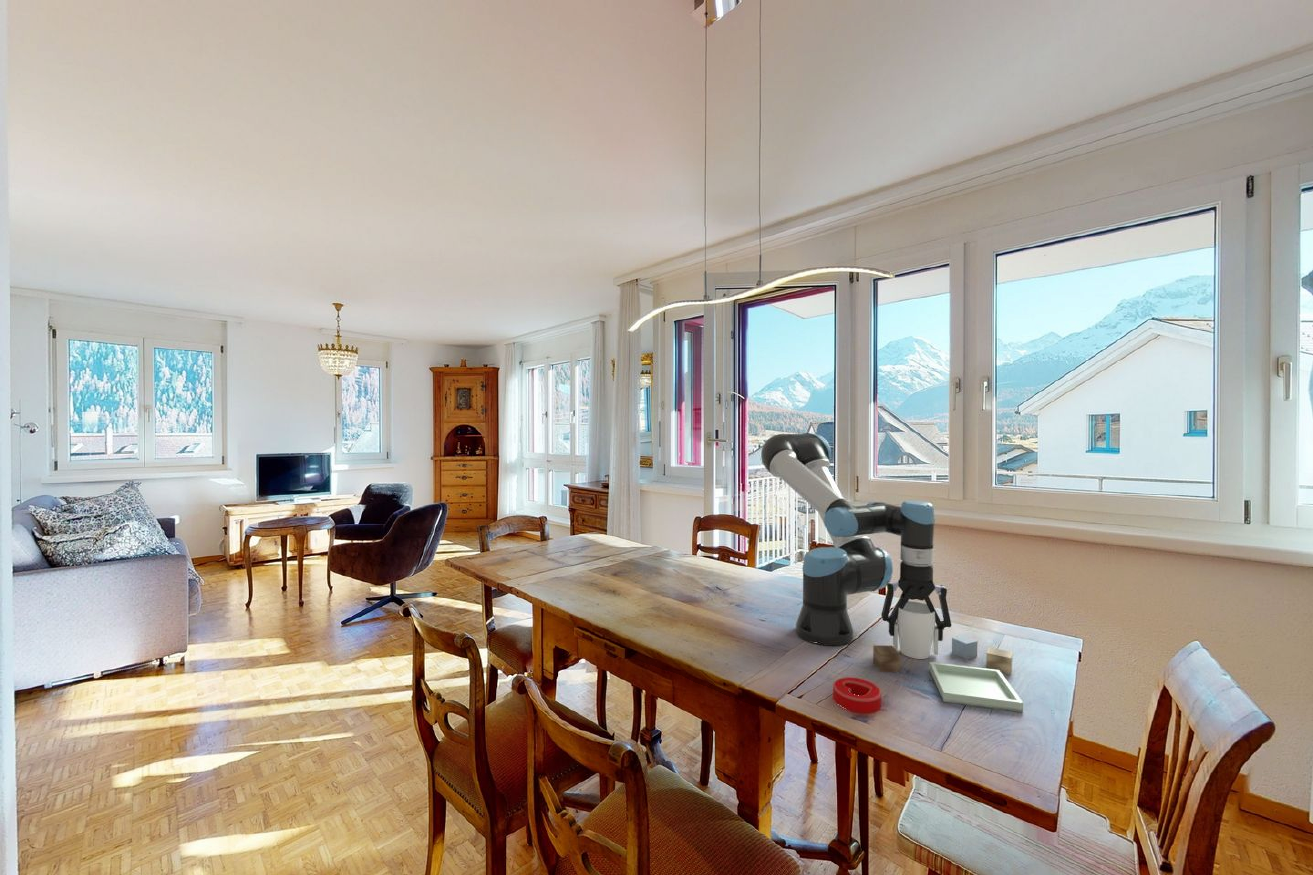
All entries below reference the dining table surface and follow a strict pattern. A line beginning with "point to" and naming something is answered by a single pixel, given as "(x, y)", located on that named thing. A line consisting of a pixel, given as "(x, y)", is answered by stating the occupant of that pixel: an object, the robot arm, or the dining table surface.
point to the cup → (916, 630)
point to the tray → (975, 687)
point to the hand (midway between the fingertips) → (914, 650)
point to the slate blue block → (964, 647)
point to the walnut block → (886, 658)
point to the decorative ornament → (860, 704)
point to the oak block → (999, 660)
